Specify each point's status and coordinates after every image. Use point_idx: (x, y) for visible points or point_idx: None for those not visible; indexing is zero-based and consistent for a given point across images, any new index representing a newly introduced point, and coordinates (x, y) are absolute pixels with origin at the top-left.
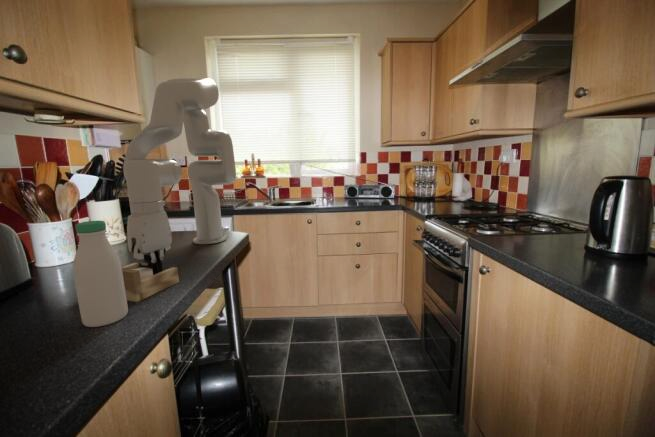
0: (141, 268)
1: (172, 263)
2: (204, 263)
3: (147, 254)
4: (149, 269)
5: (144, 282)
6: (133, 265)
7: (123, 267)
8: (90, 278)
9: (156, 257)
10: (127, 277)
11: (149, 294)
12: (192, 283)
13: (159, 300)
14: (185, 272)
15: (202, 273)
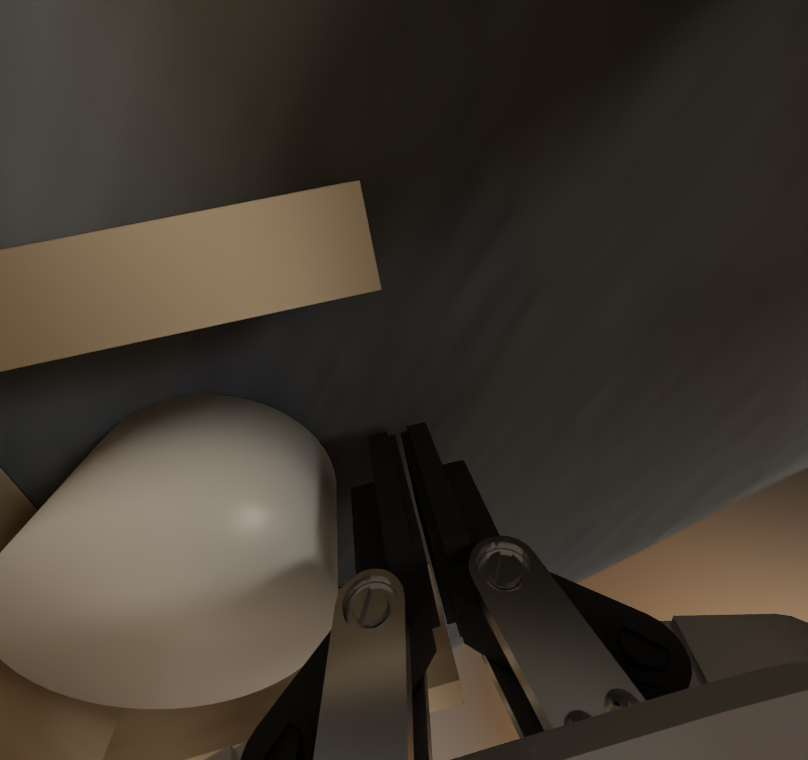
0: (273, 549)
1: (794, 140)
2: (778, 425)
3: (391, 724)
4: (311, 625)
5: None
6: (276, 306)
7: (88, 301)
8: None
9: (482, 636)
10: None
11: None
12: (450, 640)
13: None
14: (582, 480)
15: (590, 566)
